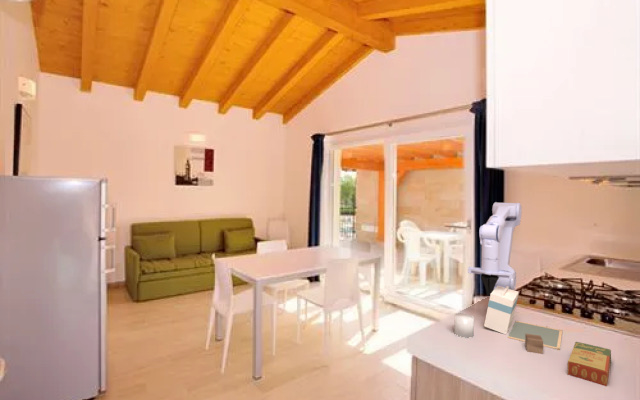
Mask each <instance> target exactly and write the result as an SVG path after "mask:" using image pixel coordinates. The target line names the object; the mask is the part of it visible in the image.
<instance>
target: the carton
mask: <svg viewBox="0 0 640 400" xmlns="http://www.w3.org/2000/svg"><path fill="white" fill-rule="evenodd" d="M611 365H612V350H611V349H610V348H605V347H602V346H597V345H593V344H588V343H583V342H579V341H575V342H574V345H573V348H572V351H571V352H570V355H569V358H568V360H567V375H568V376H571V377H574V378H577V379H580V380H581V379H582V380H584V381H588V382H590V383H594V384H597V385H601V386H604V387H608V383H609V378H610V377H609V376H610V371H611V367H612V366H611Z"/></svg>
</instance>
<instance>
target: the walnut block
mask: <svg viewBox="0 0 640 400" xmlns="http://www.w3.org/2000/svg"><path fill="white" fill-rule="evenodd" d="M524 346H525V350H526V351H527V352H529V353H533V354H540V355H543V354H544V346H543V340H542V338H541V336H539V335H532V334H525V342H524Z"/></svg>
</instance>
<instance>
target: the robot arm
mask: <svg viewBox="0 0 640 400" xmlns="http://www.w3.org/2000/svg"><path fill="white" fill-rule="evenodd" d="M522 208H523V206H522V204H521V203H520V202H497V201H495V202H494V203H493V205H492V209H491V211H492V215H491V216H489V218H488V219H487V221H486V223H484V224H483V225H480V227H479V232H478V233H479V235H478V236H479V241H480V242H479V243H480V246H481V265H480V267H475V266H472V267H471V266H469V267H468V268H467V273H468V274H476V275H480V279H481V281H482V283H483V285H484V288H485V292H486V296H487V297H490V294H491V293H492V291H493V290H494V289H495V288H496V287H497V286H501V287H504V288H506V287H507V286H508V287H509V289H511V290H514V291H515V290H516V287H517V272H516V270H515V269H514V268H513V267H512V266H510V260H511V253H512V246H513V239H514V238H513V237H514V231H515V228H516V227H518V226H520V224H521V219H522V212H523V211H522V210H523V209H522Z"/></svg>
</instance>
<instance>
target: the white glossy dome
mask: <svg viewBox="0 0 640 400" xmlns="http://www.w3.org/2000/svg"><path fill="white" fill-rule="evenodd" d="M474 320H475V317H474V316H473V315H472V314H468V313H464V312H463V313H461V312H460V313H459V312H458V313H455V314H454V323H453V325H454V327H453V330H454V331H453V333H455V334H456V335H455V334H454V335H455V336H457V335H458V336H457V337H459V336H461V337H460V338H462V337H467V338H466V339H470V338H469V337H472V338H474V336H475V335H474V334H475V333H474V331H475V329H474V327H475V323H474V322H475V321H474Z"/></svg>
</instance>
